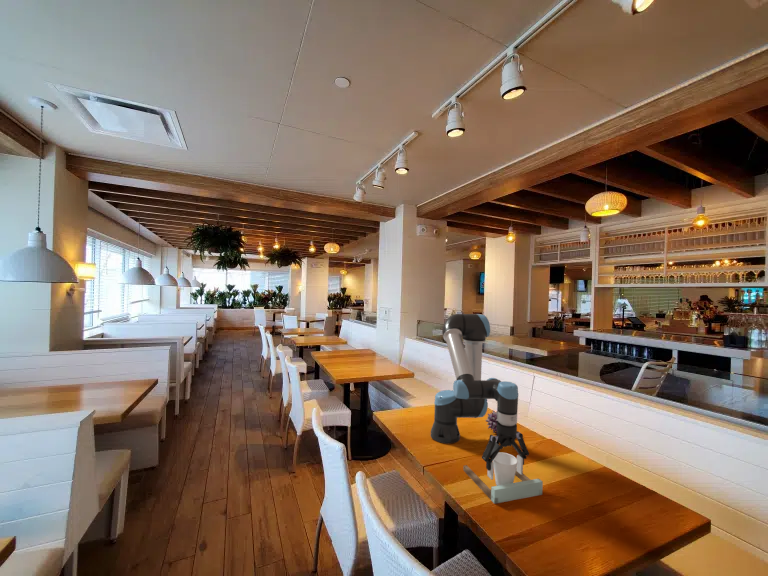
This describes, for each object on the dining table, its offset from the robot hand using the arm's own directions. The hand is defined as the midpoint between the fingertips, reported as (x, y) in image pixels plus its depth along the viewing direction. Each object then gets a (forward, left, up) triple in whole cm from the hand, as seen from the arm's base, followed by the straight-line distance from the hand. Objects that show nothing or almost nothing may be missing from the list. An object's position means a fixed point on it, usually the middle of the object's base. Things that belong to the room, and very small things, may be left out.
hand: (505, 475), depth 129 cm
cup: (0, -1, -4) cm, 4 cm away
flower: (-42, +26, -4) cm, 49 cm away
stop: (+7, 0, -4) cm, 9 cm away
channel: (-3, 0, -4) cm, 5 cm away
